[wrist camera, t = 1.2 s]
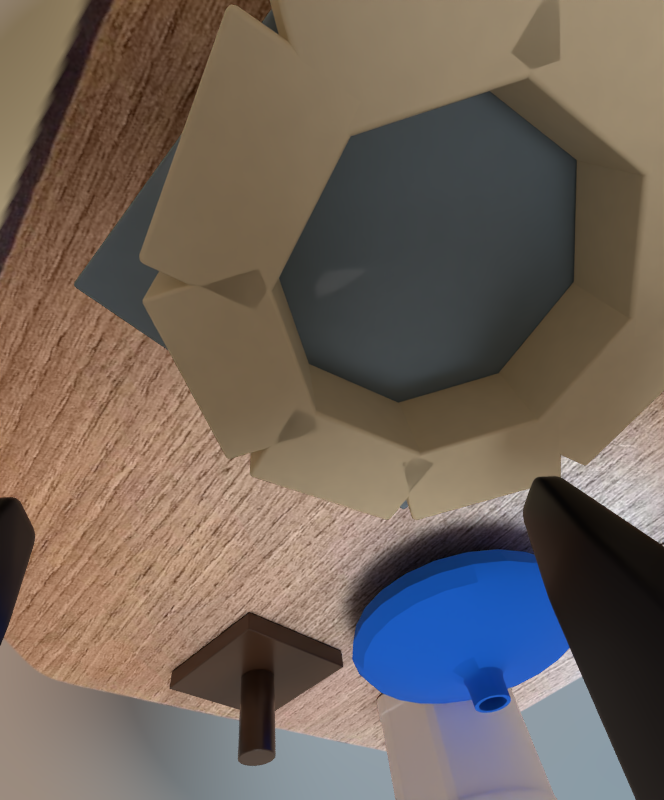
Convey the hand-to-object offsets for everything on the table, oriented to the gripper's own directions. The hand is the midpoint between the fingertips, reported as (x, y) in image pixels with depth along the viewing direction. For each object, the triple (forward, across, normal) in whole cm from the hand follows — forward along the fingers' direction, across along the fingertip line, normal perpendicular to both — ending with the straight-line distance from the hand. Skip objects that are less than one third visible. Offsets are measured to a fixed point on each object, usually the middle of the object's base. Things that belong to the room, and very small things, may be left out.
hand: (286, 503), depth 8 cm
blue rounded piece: (+14, -11, +24) cm, 30 cm away
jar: (+14, -12, +38) cm, 42 cm away
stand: (+13, +3, +30) cm, 33 cm away
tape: (+3, -3, -3) cm, 5 cm away
